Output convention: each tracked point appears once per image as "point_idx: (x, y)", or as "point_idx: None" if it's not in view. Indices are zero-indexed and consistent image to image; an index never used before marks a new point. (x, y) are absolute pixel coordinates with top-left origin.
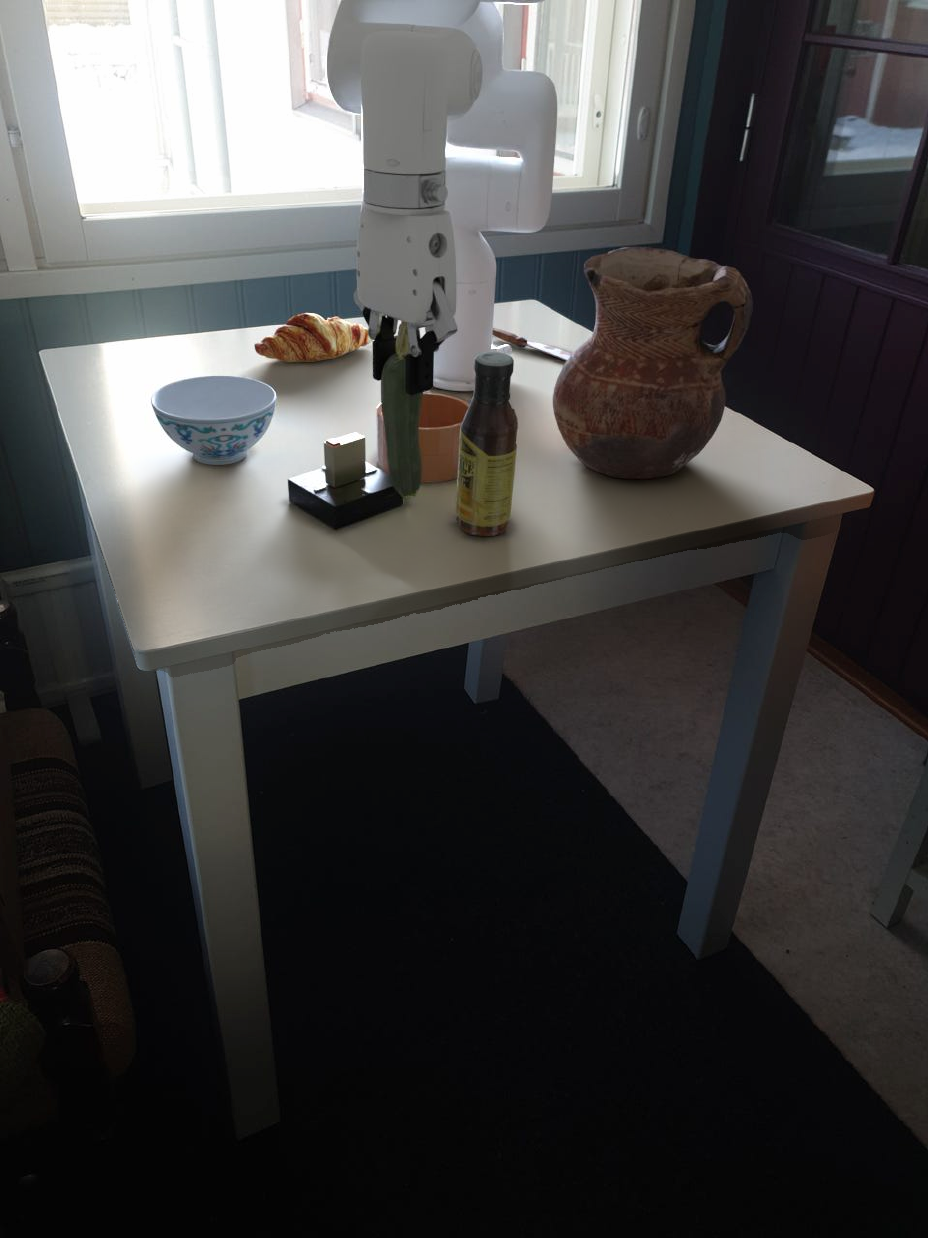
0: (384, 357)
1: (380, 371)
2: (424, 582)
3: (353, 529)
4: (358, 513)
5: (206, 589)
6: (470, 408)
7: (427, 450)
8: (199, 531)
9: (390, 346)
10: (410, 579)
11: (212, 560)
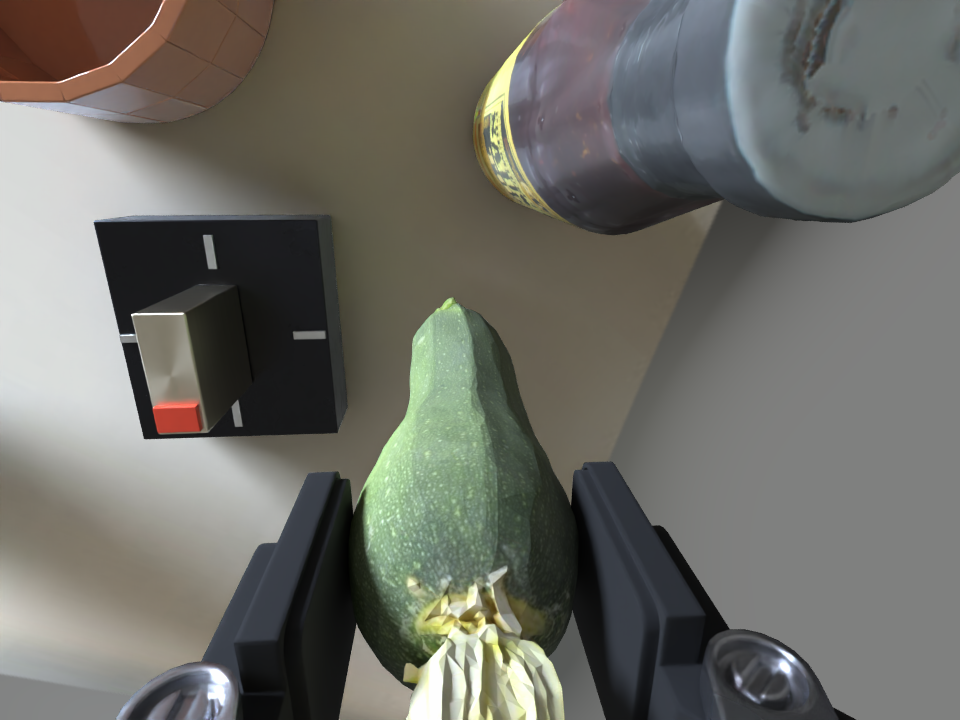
0: (339, 662)
1: (352, 618)
2: (614, 394)
3: (364, 376)
4: (338, 356)
5: None
6: (618, 196)
7: (212, 45)
8: (205, 590)
9: (318, 676)
10: (589, 406)
11: None
